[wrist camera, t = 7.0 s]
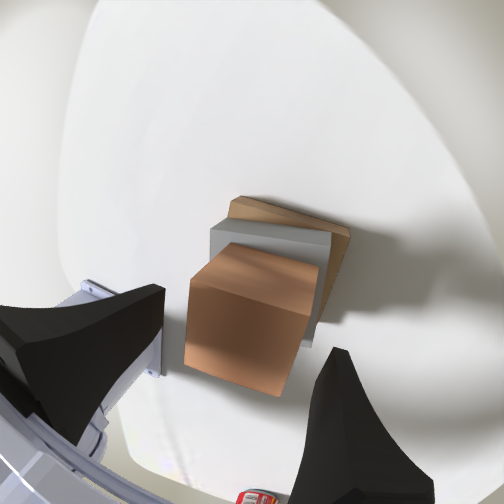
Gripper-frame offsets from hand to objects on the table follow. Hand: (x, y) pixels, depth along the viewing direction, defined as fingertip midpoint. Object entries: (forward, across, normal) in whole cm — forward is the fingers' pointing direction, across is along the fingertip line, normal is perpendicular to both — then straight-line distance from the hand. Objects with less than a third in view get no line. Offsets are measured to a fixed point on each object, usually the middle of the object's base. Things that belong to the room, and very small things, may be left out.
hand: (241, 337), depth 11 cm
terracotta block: (+4, 0, 0) cm, 4 cm away
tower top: (+7, 0, 0) cm, 7 cm away
